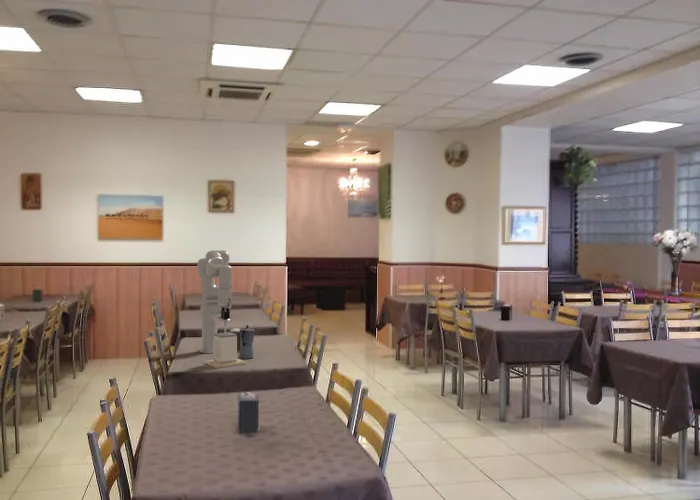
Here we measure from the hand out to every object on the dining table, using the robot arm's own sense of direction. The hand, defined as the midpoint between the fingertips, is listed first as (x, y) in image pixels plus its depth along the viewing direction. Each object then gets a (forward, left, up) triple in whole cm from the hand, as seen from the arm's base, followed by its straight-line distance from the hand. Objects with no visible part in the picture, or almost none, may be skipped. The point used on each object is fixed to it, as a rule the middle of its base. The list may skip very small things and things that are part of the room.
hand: (225, 317), depth 384 cm
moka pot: (-8, +18, -27) cm, 34 cm away
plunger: (0, 0, -19) cm, 19 cm away
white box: (0, 0, -27) cm, 27 cm away
